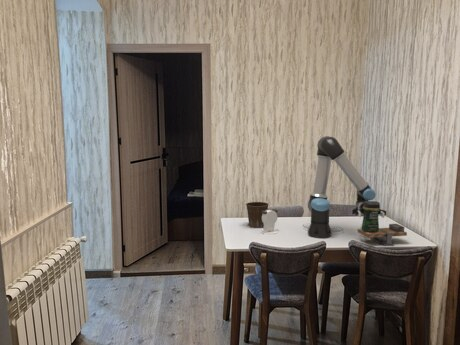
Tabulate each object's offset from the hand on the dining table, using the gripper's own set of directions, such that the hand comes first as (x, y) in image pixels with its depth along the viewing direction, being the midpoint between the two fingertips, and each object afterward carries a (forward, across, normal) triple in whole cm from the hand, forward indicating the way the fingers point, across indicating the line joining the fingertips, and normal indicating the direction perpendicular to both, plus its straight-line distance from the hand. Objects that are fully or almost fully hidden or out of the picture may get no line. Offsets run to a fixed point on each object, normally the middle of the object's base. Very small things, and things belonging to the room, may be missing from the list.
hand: (371, 215), depth 232 cm
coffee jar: (-3, 0, -11) cm, 11 cm away
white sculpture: (-18, +62, -18) cm, 67 cm away
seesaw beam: (-6, -8, -12) cm, 15 cm away
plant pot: (-33, +72, -18) cm, 81 cm away
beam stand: (-6, -8, -18) cm, 20 cm away
